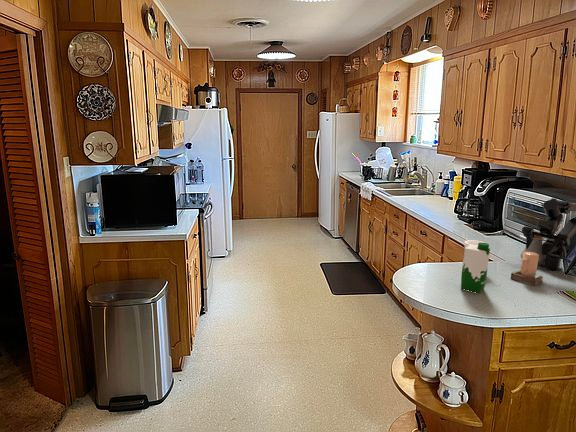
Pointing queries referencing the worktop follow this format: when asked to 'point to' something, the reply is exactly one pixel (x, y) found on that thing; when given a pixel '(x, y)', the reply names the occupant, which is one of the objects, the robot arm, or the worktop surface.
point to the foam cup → (472, 242)
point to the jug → (529, 264)
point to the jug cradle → (526, 278)
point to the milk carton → (475, 267)
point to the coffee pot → (533, 247)
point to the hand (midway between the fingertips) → (537, 251)
